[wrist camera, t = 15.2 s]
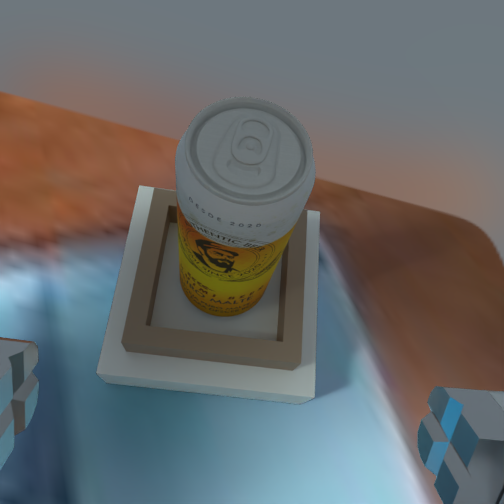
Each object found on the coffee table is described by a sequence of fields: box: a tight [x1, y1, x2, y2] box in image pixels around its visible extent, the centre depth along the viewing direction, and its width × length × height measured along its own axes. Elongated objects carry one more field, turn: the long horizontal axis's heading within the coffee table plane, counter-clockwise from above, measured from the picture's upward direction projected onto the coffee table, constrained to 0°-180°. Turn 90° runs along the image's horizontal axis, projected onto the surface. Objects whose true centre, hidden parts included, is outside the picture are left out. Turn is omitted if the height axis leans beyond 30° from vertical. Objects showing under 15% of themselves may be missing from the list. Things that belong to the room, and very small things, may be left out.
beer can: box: [175, 97, 316, 317], centre depth 25 cm, size 6×6×15 cm
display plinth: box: [96, 186, 320, 404], centre depth 33 cm, size 14×14×6 cm
